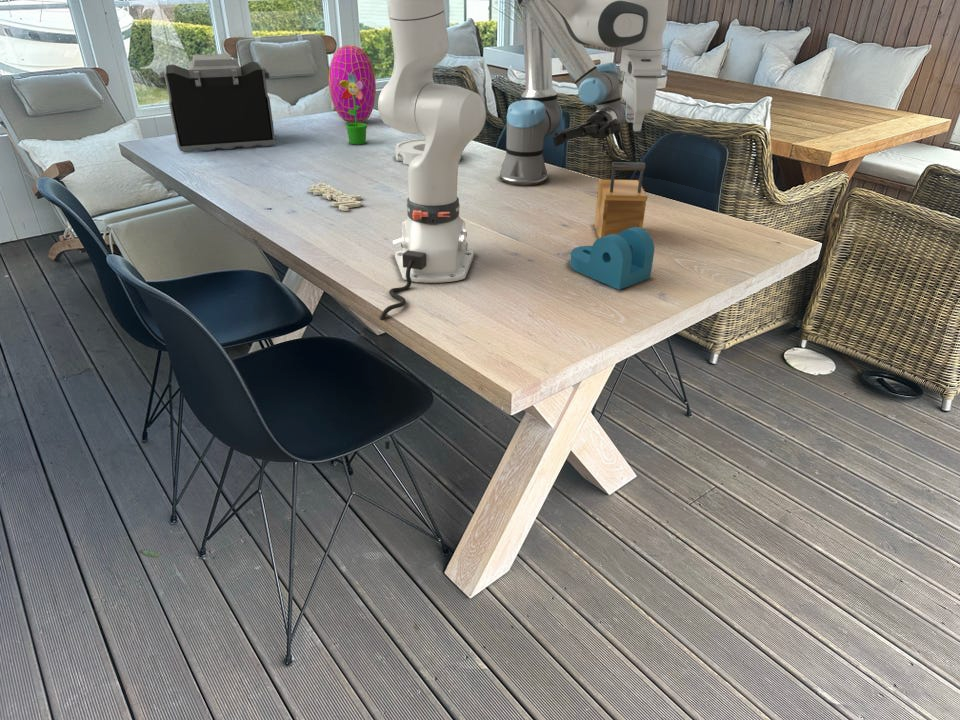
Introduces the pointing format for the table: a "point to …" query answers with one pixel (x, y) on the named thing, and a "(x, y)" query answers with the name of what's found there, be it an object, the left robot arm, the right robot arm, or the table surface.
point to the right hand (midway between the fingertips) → (577, 138)
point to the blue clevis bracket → (616, 258)
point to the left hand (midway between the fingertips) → (632, 126)
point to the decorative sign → (336, 196)
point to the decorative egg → (361, 68)
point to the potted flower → (354, 129)
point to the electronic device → (219, 104)
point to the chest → (617, 215)
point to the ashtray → (409, 150)
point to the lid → (624, 184)
